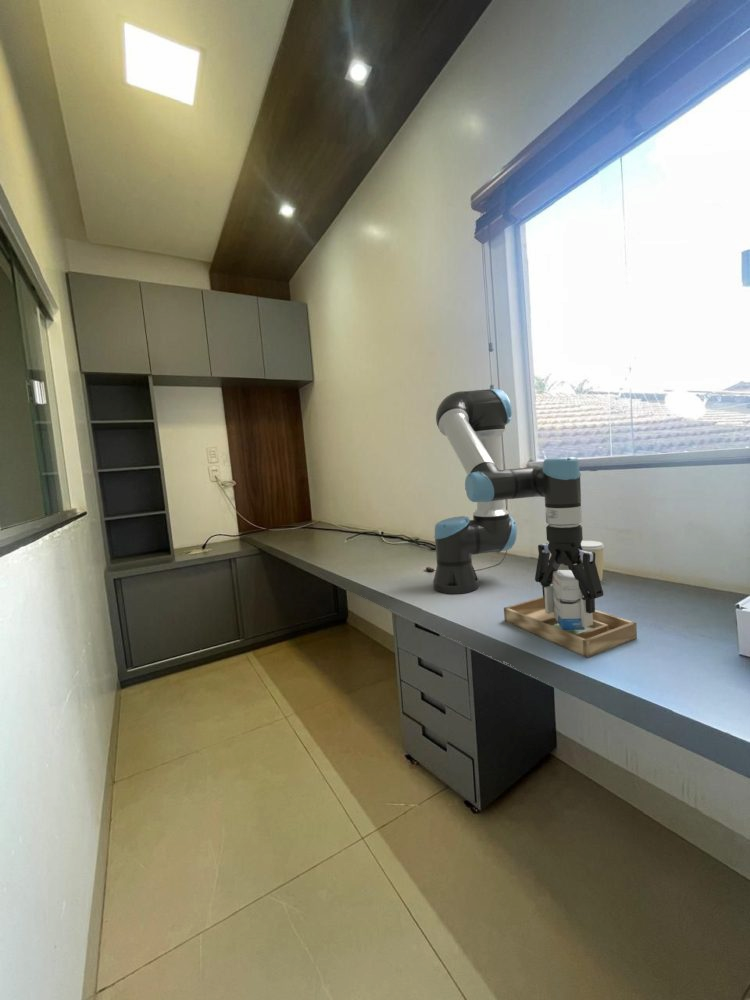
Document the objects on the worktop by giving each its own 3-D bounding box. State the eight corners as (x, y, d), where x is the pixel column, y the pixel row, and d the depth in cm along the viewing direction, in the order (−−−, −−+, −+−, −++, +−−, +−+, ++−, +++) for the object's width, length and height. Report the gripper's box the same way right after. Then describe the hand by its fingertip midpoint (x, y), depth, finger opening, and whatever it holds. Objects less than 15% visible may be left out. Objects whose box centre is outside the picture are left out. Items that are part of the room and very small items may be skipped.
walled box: (504, 620, 103) (503, 607, 103) (549, 607, 110) (548, 594, 110) (587, 657, 82) (586, 641, 81) (636, 638, 88) (636, 622, 88)
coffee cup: (601, 574, 134) (599, 540, 133) (608, 583, 125) (607, 546, 124) (570, 574, 137) (569, 540, 136) (575, 583, 128) (574, 546, 127)
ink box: (585, 630, 89) (583, 579, 88) (561, 630, 90) (559, 579, 89) (574, 615, 97) (572, 568, 96) (553, 616, 98) (550, 569, 97)
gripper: (516, 522, 100) (521, 608, 102) (596, 532, 80) (600, 639, 82) (538, 518, 103) (542, 602, 105) (620, 527, 83) (624, 630, 85)
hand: (568, 618), depth 93 cm, fingers closed on ink box, 9 cm apart
